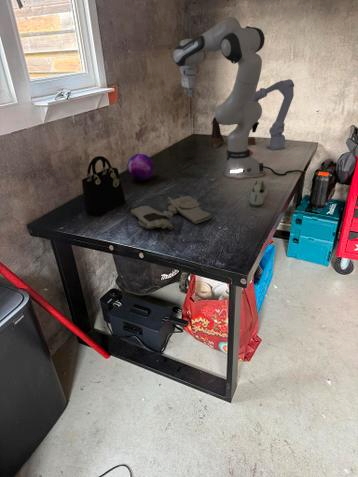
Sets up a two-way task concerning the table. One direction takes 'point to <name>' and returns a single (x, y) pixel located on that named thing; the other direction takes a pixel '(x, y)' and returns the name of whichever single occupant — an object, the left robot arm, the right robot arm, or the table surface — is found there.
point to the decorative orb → (140, 167)
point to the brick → (251, 141)
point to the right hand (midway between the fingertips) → (251, 131)
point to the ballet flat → (258, 193)
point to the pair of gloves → (170, 213)
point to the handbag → (102, 188)
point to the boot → (216, 134)
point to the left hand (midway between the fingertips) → (188, 96)
